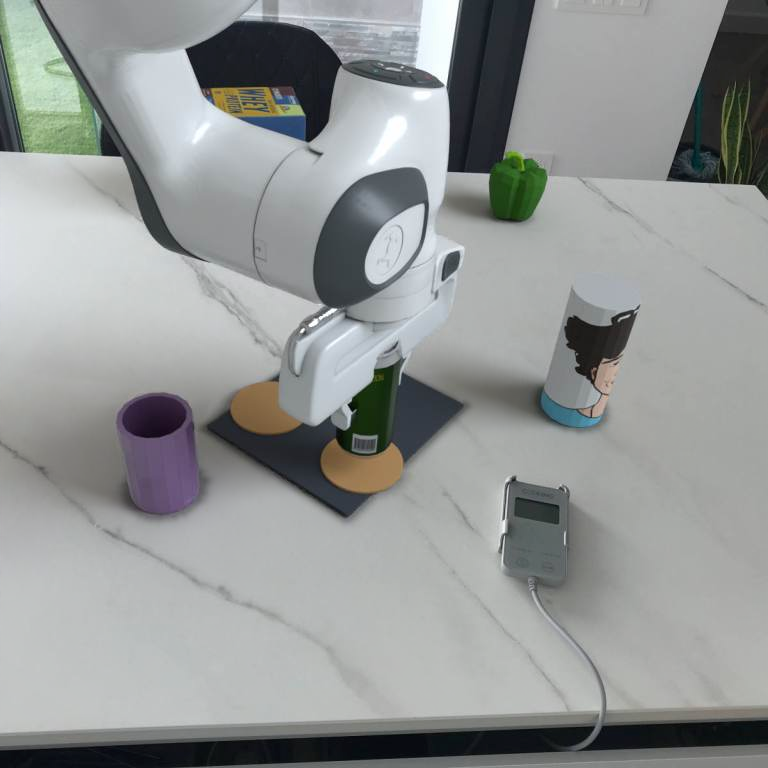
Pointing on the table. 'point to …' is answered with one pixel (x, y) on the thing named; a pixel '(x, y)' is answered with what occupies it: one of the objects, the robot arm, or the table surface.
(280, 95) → the protein box
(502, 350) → the table surface
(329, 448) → the placemat
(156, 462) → the purple cup
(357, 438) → the beer can
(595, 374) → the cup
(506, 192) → the bell pepper
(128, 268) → the table surface
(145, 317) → the table surface
